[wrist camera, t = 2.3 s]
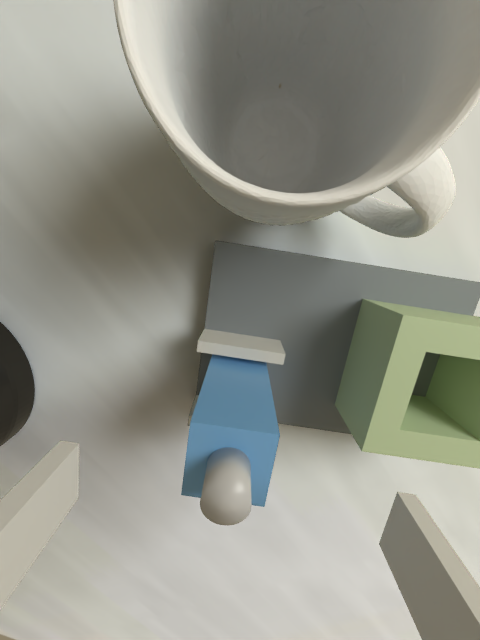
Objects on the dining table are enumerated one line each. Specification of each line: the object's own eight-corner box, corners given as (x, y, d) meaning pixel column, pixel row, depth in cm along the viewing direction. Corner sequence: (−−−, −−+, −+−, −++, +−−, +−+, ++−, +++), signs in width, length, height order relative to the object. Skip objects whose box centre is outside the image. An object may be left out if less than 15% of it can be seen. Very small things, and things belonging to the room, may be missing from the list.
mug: (421, 169, 20) (730, 23, 7) (323, 292, 22) (426, 347, 9) (254, 24, 18) (275, -515, 5) (166, 175, 20) (33, 48, 8)
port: (334, 404, 23) (361, 451, 18) (362, 298, 21) (403, 314, 15) (440, 420, 23) (499, 471, 18) (479, 316, 21) (559, 339, 15)
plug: (208, 391, 23) (170, 537, 11) (214, 346, 22) (179, 454, 10) (256, 398, 23) (267, 551, 11) (264, 353, 22) (286, 469, 10)
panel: (197, 401, 25) (186, 433, 20) (217, 241, 21) (210, 238, 17) (414, 433, 25) (450, 472, 21) (468, 281, 22) (525, 288, 17)
